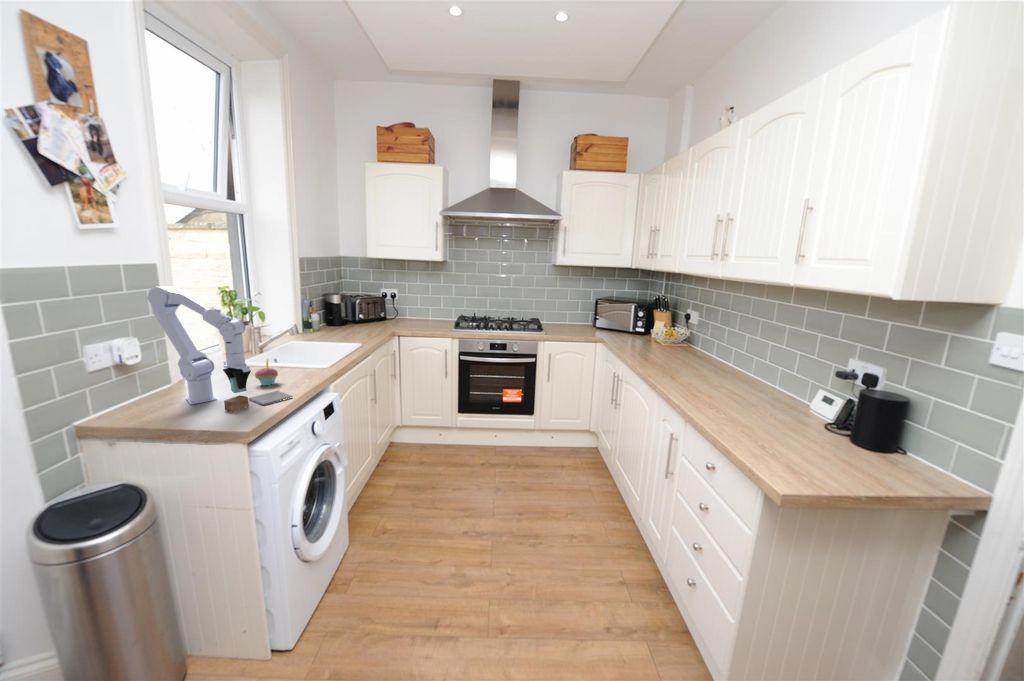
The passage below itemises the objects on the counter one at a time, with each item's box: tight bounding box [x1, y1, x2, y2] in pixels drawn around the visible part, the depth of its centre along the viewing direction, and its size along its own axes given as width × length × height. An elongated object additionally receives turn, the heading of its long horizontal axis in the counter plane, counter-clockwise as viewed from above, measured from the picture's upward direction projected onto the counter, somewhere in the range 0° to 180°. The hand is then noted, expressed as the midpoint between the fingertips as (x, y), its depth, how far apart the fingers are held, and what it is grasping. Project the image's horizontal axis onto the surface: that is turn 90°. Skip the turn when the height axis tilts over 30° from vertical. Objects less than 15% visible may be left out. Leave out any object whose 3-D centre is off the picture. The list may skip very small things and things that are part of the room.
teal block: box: [229, 377, 248, 394], centre depth 153 cm, size 4×4×5 cm
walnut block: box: [223, 394, 250, 413], centre depth 147 cm, size 4×6×4 cm, turn 162°
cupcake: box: [254, 358, 279, 386], centre depth 174 cm, size 9×8×12 cm
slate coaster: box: [248, 390, 293, 406], centre depth 158 cm, size 11×11×1 cm
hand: (238, 387), depth 153 cm, fingers closed on teal block, 5 cm apart
